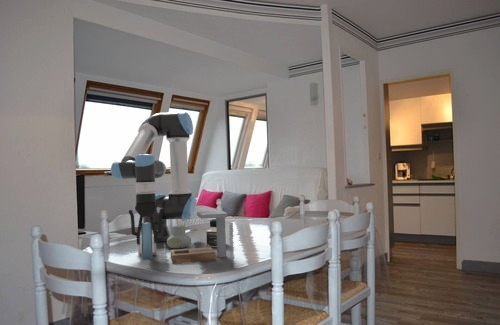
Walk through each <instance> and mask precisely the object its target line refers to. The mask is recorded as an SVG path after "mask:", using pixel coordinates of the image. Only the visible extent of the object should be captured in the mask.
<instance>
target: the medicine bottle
mask: <svg viewBox="0 0 500 325" xmlns="http://www.w3.org/2000/svg"><path fill="white" fill-rule="evenodd" d="M205 234H206V247H211V248H212V247H214V248H217V228H216V218H211V220H209V229H207V230H206V233H205ZM225 234H226V246H227V245H228V229H227V228H225Z"/></svg>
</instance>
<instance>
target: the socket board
mask: <svg viewBox="0 0 500 325" xmlns="http://www.w3.org/2000/svg"><path fill="white" fill-rule="evenodd" d="M170 260H171V264H172V265H174V264H175V265H178V264H187V263H189V264H190V263H198V262H199V263H200V262H210V261H216V251H215V250H214V249H213V248H212V247H207V246H205V247H203V246H202V247H193V248H182V249H170Z"/></svg>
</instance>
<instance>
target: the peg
mask: <svg viewBox="0 0 500 325" xmlns="http://www.w3.org/2000/svg"><path fill="white" fill-rule="evenodd" d="M141 232H142V256H141V260H145V261H146V260H147V261H149V260H152V259H153V258H154V256H153V255H152V225H151V223H143V222H142V225H141Z"/></svg>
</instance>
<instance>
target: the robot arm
mask: <svg viewBox="0 0 500 325" xmlns="http://www.w3.org/2000/svg"><path fill="white" fill-rule="evenodd" d="M137 131H138V132H137V135H136V137H135V138H134V139H133V141H132V143H131V145H130V146H129V147H128V149H127V151H126V152H125V154H124V156H123V158H122V159H121V160H120V161H119V160H118V161H114V162H112V164H111V167H110V173H111V176H112V178H114V179H116V180H118V179H119V180H129V179H130V180H132V179H134V180H135V193H136V194H135V201H136V202H135V206H134V208H132V209H129V211H128V213H129V216H130V225H131V226H130V227H131V235H132V236H135V237H136V244H137V246H138V244H140V253H142V235H141V236H140V231H141V225H142V223H151V225H152V230H153V233H154V235H152V252H154V243H156V244H157V243H162V242H163V243H164V242H167V239H168V238H169V237H170V236H171V233H170V232H171V231H170V229H169V228H168V227H169V226H168V224H167V223H168V222H167V221H168V220H190V219H191V218H192V217H194V214H195V212H196V206H197V199H196V196H195V195H194V194H193V192H192V191H191V190H190V189H189V170H188V169H189V168H188V167H189V165H188V146H187V145H188V141H189V140H190V137H191V136H190V135H193V134H194V126H193V120H192V118H191V116H190V114H189V113H188V112H185V111H175V112H174V111H171V112H158V113H155V114H152V115H150V116H149V117H148V118H146V119H145V120H144V121H143V122H142V123H141V124H140V126H139V128H138V130H137ZM158 137H166V141H168V143H169V159H170V162H169V163H170V164H169V165H170V186H171V188H170V189H171V190H170V191H169V192H168V196H167V194H166V193H161V194H156V179H159V178H161V177H164V175H165V174H166V172H167V167H166V164H165V163H164V162H163V161H162V160H159V159H156V160H155V155H154V154H151V153H149V154H148V153H147V152H148V150H149V148H150V146H151V144H152V143H153V141H155V140H156V139H157V138H158ZM136 213H137V214H138V215H139V220H138V225H137V231H136V223H135V214H136Z"/></svg>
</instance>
